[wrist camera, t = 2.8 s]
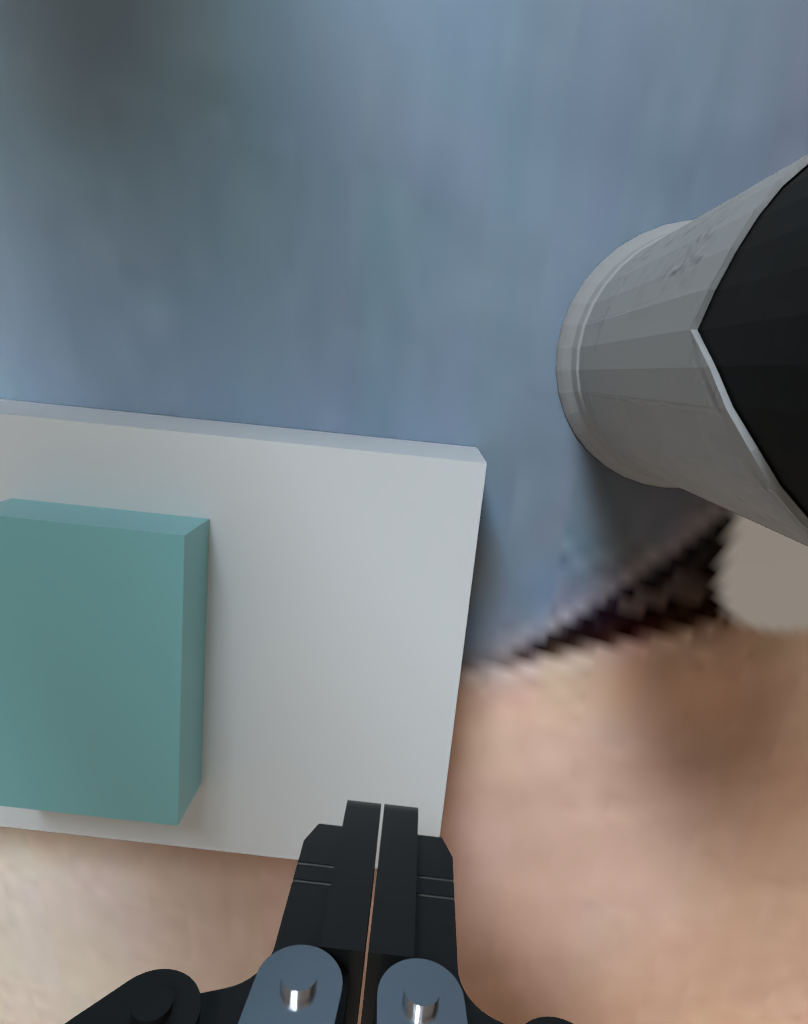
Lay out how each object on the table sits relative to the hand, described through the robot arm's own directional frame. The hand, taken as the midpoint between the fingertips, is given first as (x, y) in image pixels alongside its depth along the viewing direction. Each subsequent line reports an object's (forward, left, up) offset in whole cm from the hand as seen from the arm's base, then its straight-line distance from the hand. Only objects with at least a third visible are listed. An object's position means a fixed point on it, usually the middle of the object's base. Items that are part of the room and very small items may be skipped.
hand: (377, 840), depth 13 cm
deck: (0, -8, -11) cm, 14 cm away
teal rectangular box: (0, -9, -7) cm, 11 cm away
